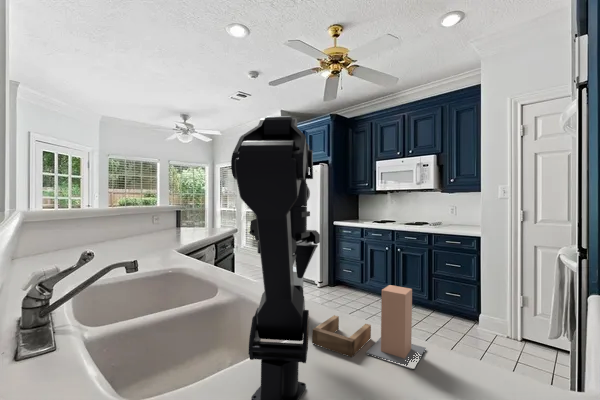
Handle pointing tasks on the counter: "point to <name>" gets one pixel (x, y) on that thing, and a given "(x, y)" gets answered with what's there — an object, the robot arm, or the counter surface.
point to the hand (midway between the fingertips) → (291, 283)
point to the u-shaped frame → (340, 337)
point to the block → (396, 320)
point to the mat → (377, 352)
